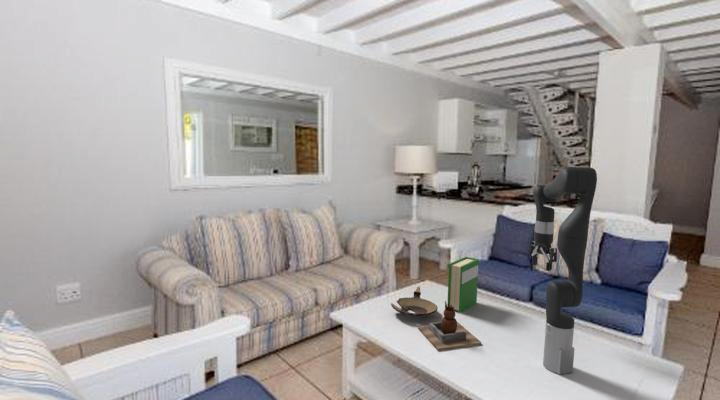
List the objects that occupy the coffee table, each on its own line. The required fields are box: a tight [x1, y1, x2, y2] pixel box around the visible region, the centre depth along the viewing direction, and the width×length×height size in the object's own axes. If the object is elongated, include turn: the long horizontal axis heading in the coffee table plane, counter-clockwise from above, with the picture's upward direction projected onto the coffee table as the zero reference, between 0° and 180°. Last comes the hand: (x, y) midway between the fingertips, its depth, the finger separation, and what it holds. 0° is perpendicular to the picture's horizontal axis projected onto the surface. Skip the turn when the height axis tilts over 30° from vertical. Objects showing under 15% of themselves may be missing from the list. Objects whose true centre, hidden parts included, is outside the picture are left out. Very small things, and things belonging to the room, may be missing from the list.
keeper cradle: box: [417, 321, 482, 352], centre depth 168 cm, size 20×20×4 cm
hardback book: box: [447, 256, 480, 314], centre depth 199 cm, size 18×7×24 cm, turn 137°
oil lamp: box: [390, 286, 438, 317], centre depth 193 cm, size 22×30×8 cm
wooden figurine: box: [440, 300, 458, 334], centre depth 167 cm, size 7×6×15 cm
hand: (541, 267), depth 168 cm, fingers open, 8 cm apart
